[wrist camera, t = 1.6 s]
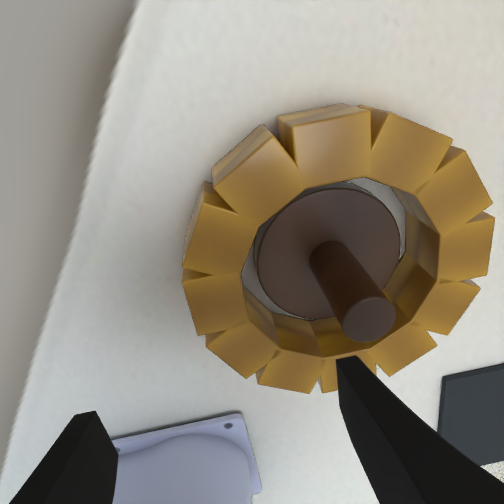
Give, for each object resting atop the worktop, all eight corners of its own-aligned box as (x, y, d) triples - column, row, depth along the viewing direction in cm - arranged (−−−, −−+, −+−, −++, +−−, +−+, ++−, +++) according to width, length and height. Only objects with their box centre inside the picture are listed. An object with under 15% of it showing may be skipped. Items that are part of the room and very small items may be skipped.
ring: (219, 372, 22) (222, 416, 19) (153, 140, 15) (142, 155, 13) (442, 325, 22) (475, 361, 19) (463, 78, 16) (515, 81, 13)
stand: (265, 318, 20) (286, 408, 15) (242, 197, 17) (259, 256, 12) (389, 291, 20) (455, 371, 15) (390, 167, 17) (473, 212, 12)
